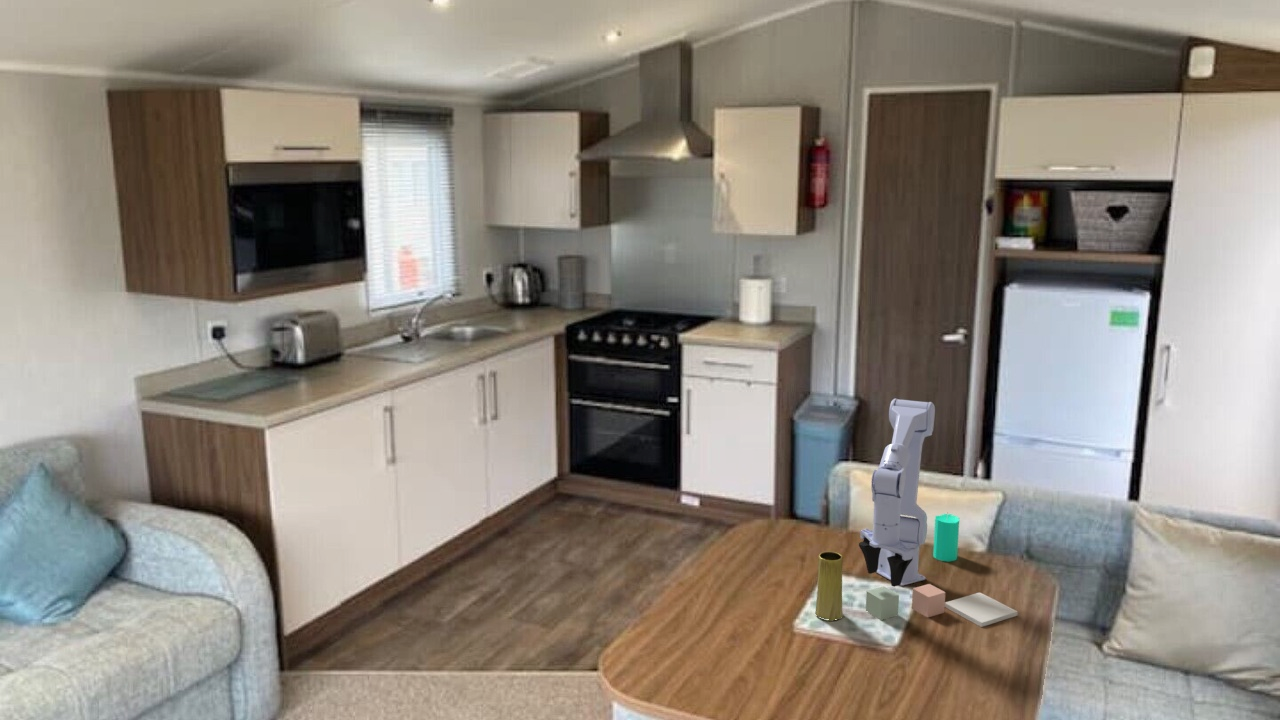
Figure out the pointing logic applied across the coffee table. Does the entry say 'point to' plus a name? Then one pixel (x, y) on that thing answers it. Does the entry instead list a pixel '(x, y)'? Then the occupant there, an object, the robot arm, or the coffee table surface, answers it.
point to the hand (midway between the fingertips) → (884, 578)
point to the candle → (946, 537)
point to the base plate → (980, 609)
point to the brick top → (928, 600)
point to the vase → (829, 586)
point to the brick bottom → (882, 603)
